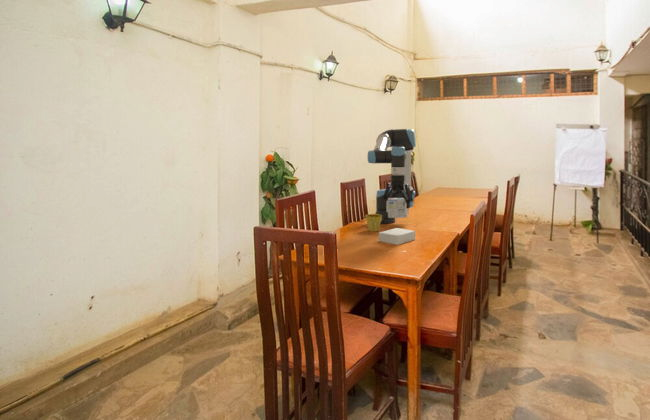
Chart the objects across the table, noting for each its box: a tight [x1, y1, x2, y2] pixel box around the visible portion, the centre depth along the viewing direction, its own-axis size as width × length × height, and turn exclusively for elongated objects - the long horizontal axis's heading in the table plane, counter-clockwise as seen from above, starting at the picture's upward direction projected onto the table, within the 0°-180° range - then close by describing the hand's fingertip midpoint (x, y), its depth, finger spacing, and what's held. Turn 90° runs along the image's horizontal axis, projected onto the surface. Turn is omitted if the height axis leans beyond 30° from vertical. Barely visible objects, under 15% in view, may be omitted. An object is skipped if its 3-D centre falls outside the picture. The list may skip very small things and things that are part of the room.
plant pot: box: [365, 213, 382, 232], centre depth 257 cm, size 10×10×10 cm
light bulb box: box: [388, 198, 408, 219], centre depth 227 cm, size 11×7×11 cm, turn 84°
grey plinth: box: [378, 227, 416, 246], centre depth 230 cm, size 13×17×5 cm
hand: (397, 212), depth 228 cm, fingers closed on light bulb box, 12 cm apart
